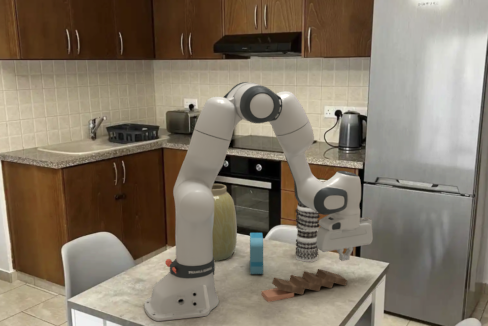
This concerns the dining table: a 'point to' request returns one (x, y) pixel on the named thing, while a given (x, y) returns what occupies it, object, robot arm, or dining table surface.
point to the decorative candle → (306, 233)
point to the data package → (256, 253)
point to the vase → (223, 223)
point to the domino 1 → (276, 294)
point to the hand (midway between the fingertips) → (344, 259)
